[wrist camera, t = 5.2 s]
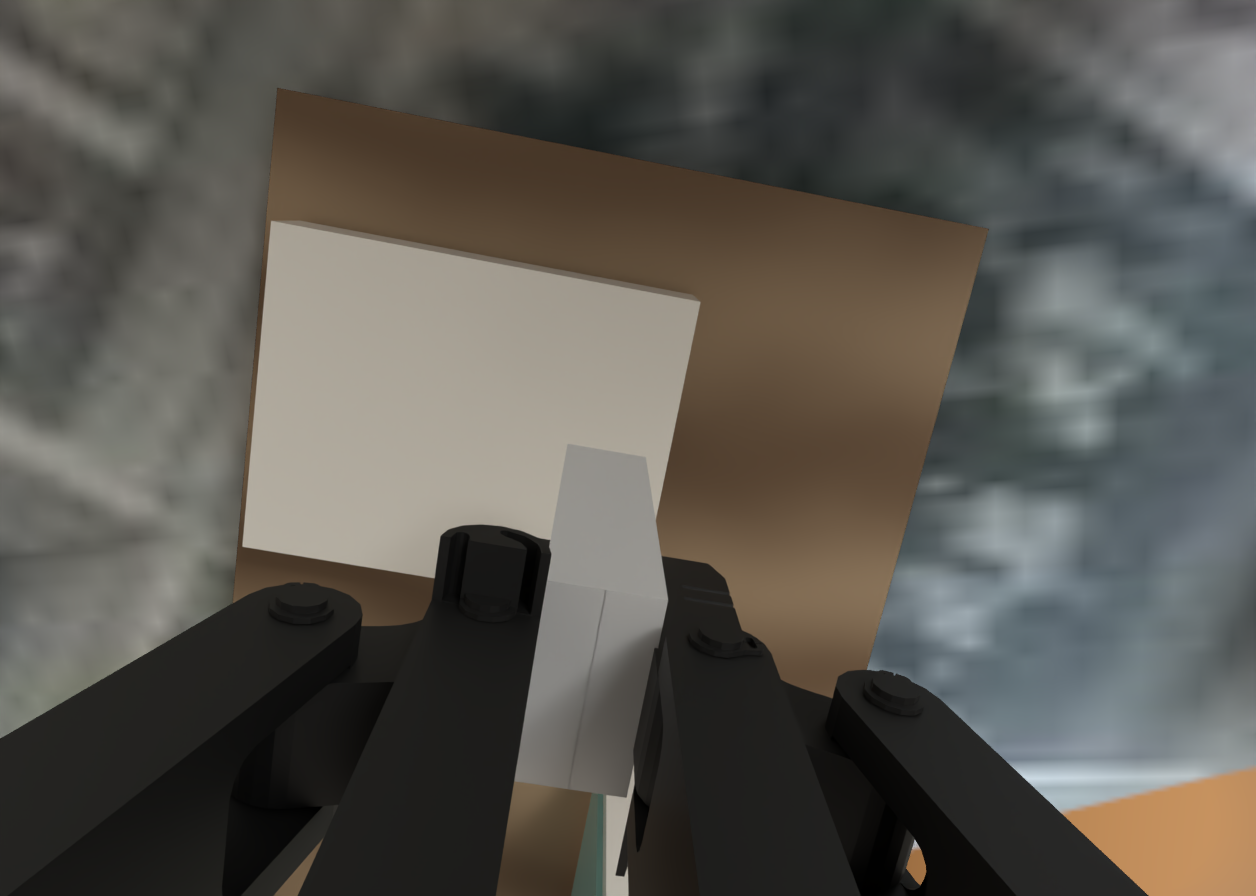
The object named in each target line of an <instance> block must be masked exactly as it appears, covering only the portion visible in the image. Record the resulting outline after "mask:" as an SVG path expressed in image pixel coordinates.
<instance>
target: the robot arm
mask: <svg viewBox="0 0 1256 896" xmlns="http://www.w3.org/2000/svg"><path fill="white" fill-rule="evenodd" d="M733 606H734V604H733V601H732V598H731V596H730V592H729V589H728V586H727V582H726V579H725V578H724V577H723V576H722V575H721V574H720V573H719V572H717V571H716V570H715V569H714V568H713V567H712V566H711V565H709V564H708V563H702V562H696V561H690V560H684V559H678V558H672V557H666V556H661V551H660V545H659V538H658V532H657V526H656V519H655V513H654V506H653V500H652V494H651V487H650V481H649V475H648V468H647V462H646V457H642V456H636V455H631V454H625V453H619V452H613V451H607V450H602V449H596V448H590V447H584V446H578V445H573V444H567V449H566V455H565V461H564V466H563V472H562V478H561V483H560V489H559V494H558V500H557V506H556V511H555V517H554V523H553V528H552V534H551V539H550V540H547V539H541V538H538V537H535V536H533V535H531V534H528V533H526V532H523V531H520V530H516V529H512V528H507V527H503V526H494V525H483V524H479V525H462V526H459V527H455V528H451V529H448V530H447V531H446V532H445V533H443V534H442V535H441V536H440V543H439V550H438V557H437V564H436V571H435V578H434V585H433V592H432V600H431V602H430V604H429V607H428V609H427V611H426V613H425V615H424V618H423V620H420V621H417V622H413V623H408V624H403V625H392V626H361V625H362V616H363V613H362V609H361V604H360V603H358V602H357V601H356V600H355V599H354V598H353V597H351V596H350V595H348V594H346V593H343V592H341V591H338V590H335V589H333V588H328V587H322V586H319V585H318V584H315V583H306V582H303V584H300V582H290V583H286V584H285V585H279V586H272V587H266V588H263V589H261V590H258V591H256V592H253V593H250V594H248V595H246V596H245V597H243V598H241V599H239V600H238V601H236V602H234V603H233V604H231V605H229V606H227V607H226V608H224V609H222V610H221V611H219V612H217V613H215V614H214V615H212V616H210V617H209V618H207V619H205V620H203V621H202V622H200V623H198V624H196V625H195V626H193V627H191V628H190V629H188V630H186V631H184V632H183V633H181V634H179V635H178V636H176V637H174V638H172V639H171V640H169V641H167V642H166V643H164V644H162V645H160V646H159V647H157V648H155V649H154V650H152V651H150V652H148V653H147V654H145V655H143V656H142V657H140V658H138V659H136V660H135V661H133V662H131V663H130V664H128V665H126V666H124V667H123V668H121V669H119V670H117V671H116V672H114V673H112V674H111V675H109V676H107V677H105V678H104V679H102V680H100V681H99V682H97V683H95V684H93V685H92V686H90V687H88V688H87V689H85V690H83V691H81V692H80V693H78V694H76V695H75V696H73V697H71V698H69V699H68V700H66V701H64V702H63V703H61V704H59V705H57V706H56V707H54V708H52V709H51V710H49V711H47V712H45V713H44V714H42V715H40V716H39V717H37V718H35V719H33V720H32V721H30V722H28V723H26V724H25V725H23V726H21V727H20V728H18V729H16V730H14V731H13V732H11V733H9V734H8V735H6V736H4V737H2V738H1V739H0V896H274V895H275V893H276V892H277V891H278V890H279V889H280V888H281V886H282V885H283V884H284V883H285V882H286V881H287V880H288V878H289V877H290V876H291V875H292V874H293V873H294V871H295V870H296V869H297V868H298V867H299V866H300V865H301V863H302V862H303V861H304V860H305V859H306V858H307V856H308V855H309V854H310V853H311V852H312V851H313V850H314V848H315V847H316V846H317V845H318V844H319V843H320V841H321V840H322V839H323V841H322V843H321V845H320V847H319V849H318V852H317V854H316V856H315V858H314V860H313V863H312V865H311V867H310V869H309V872H308V874H307V876H306V878H305V880H304V883H303V885H302V887H301V889H300V891H299V894H298V896H496V892H497V885H498V879H499V873H500V867H501V861H502V854H503V848H504V842H505V836H506V829H507V823H508V817H509V811H510V805H511V798H512V792H513V786H514V781H516V782H523V783H529V784H536V785H543V786H550V787H557V788H563V789H570V790H577V791H584V792H591V793H597V794H604V795H611V796H618V797H625V798H627V794H628V789H629V784H630V780H631V775H632V770H633V765H634V781H635V784H634V789H633V794H632V799H631V803H630V808H629V813H628V817H627V822H626V827H625V832H624V836H623V841H622V846H621V851H620V855H619V860H618V865H617V870H616V874H615V876H622V877H624V876H625V873H626V870H627V867H628V893H629V896H1148V895H1147V894H1146V893H1145V892H1144V891H1143V890H1142V889H1141V888H1140V887H1139V886H1138V885H1137V884H1135V883H1134V882H1133V881H1132V880H1131V879H1130V878H1129V877H1128V876H1127V875H1126V874H1125V873H1124V872H1123V871H1122V870H1121V869H1120V868H1119V867H1117V866H1116V865H1115V864H1114V863H1113V862H1112V861H1111V860H1110V859H1109V858H1108V857H1107V856H1106V855H1105V854H1104V853H1103V852H1102V851H1101V850H1099V849H1098V848H1097V847H1096V846H1095V845H1094V844H1093V843H1092V842H1091V841H1090V840H1089V839H1088V838H1087V837H1085V835H1084V834H1083V833H1081V832H1080V831H1079V830H1078V829H1077V828H1076V827H1075V826H1074V825H1073V824H1072V823H1071V822H1070V821H1069V820H1067V818H1066V817H1064V816H1063V815H1062V814H1061V813H1060V812H1059V811H1058V810H1057V809H1056V808H1055V807H1054V806H1053V805H1052V804H1051V803H1050V802H1049V801H1047V800H1046V799H1045V798H1044V797H1043V796H1042V795H1041V794H1040V793H1039V792H1038V791H1037V790H1036V789H1035V788H1034V787H1033V786H1032V785H1031V784H1029V783H1028V782H1027V781H1026V780H1025V779H1024V778H1023V777H1022V776H1021V775H1020V774H1019V773H1018V772H1017V771H1016V770H1015V769H1014V768H1012V767H1011V766H1010V765H1009V764H1008V763H1007V762H1006V761H1005V760H1004V759H1003V758H1002V757H1001V756H1000V755H999V754H998V753H997V752H996V751H994V750H993V749H992V748H991V747H990V746H989V745H988V744H987V743H986V742H985V741H984V740H983V739H982V738H981V737H980V736H979V735H977V734H976V733H975V732H974V731H973V730H972V729H971V728H970V727H969V726H968V725H967V724H966V723H965V722H964V721H963V720H962V719H961V718H959V717H958V716H957V715H956V714H955V713H954V712H953V711H952V710H951V709H950V708H949V707H948V706H947V705H946V704H945V703H944V702H942V701H941V700H940V699H939V698H937V697H936V696H935V695H933V694H932V693H931V692H929V691H928V690H927V689H925V688H923V687H921V686H919V685H917V684H915V683H913V682H911V681H910V679H908V678H907V677H904V676H901V675H898V674H896V676H894V675H893V673H892V672H888V671H883V670H880V671H871V670H853V671H847V672H845V673H843V674H842V675H840V676H838V679H837V682H836V686H835V690H834V694H833V697H832V698H830V697H827V696H824V695H821V694H818V693H814V692H811V691H808V690H805V689H802V688H800V687H797V686H794V685H792V684H789V683H787V682H785V681H783V680H781V678H780V675H779V673H778V670H777V667H776V665H775V662H774V659H773V656H772V654H771V652H770V651H769V649H768V648H767V647H766V645H765V644H764V643H763V642H761V641H760V640H759V639H758V638H756V637H754V636H753V635H751V634H749V633H747V632H745V631H742V629H741V626H740V623H739V620H738V616H737V613H736V610H735V608H733ZM914 840H916V842H917V844H918V845H919V847H920V849H921V851H922V854H923V857H924V860H925V864H926V875H925V878H924V880H923V882H922V884H921V886H920V885H919V884H918V883H917V882H916V881H915V880H914V878H913V877H912V876H911V874H910V873H909V872H908V870H907V869H906V866H907V862H908V860H909V856H910V853H911V850H912V846H913V843H914Z"/></svg>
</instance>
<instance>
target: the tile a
mask: <svg viewBox="0 0 1256 896" xmlns="http://www.w3.org/2000/svg"><path fill="white" fill-rule="evenodd" d="M699 307H700V301H699V300H698V299H697V298H696V297H695V296H694V295H692V294H686V293H681V292H676V291H671V290H665V289H660V288H655V287H649V286H644V285H639V284H634V283H628V282H623V281H618V280H612V279H607V278H602V277H597V276H591V275H586V274H581V273H575V272H570V271H565V270H559V269H554V268H549V267H544V266H538V265H533V264H528V263H522V262H517V261H512V260H507V259H501V258H496V257H491V256H485V255H480V254H475V253H470V252H464V251H459V250H454V249H448V248H443V247H438V246H433V245H427V244H422V243H417V242H411V241H406V240H401V239H395V238H390V237H385V236H380V235H374V234H369V233H364V232H358V231H353V230H348V229H343V228H337V227H332V226H327V225H321V224H316V223H311V222H306V221H300V220H298V221H271V227H270V239H269V250H268V261H267V273H266V284H265V295H264V307H263V318H262V329H261V341H260V352H259V363H258V375H257V386H256V397H255V409H254V420H253V431H252V442H251V454H250V465H249V476H248V488H247V499H246V510H245V522H244V533H243V544H242V547H247V548H253V549H259V550H265V551H271V552H277V553H284V554H290V555H296V556H302V557H308V558H314V559H320V560H326V561H332V562H338V563H344V564H350V565H356V566H363V567H369V568H375V569H381V570H387V571H393V572H399V573H405V574H411V575H417V576H423V577H429V578H435V571H436V564H437V557H438V550H439V543H440V536H441V535H442V534H443V533H445V532H446V531H447V530H448V529H451V528H455V527H459V526H462V525H479V524H483V525H494V526H503V527H507V528H512V529H516V530H520V531H523V532H526V533H528V534H531V535H533V536H535V537H538V538H541V539H547V540H550V539H551V534H552V528H553V523H554V517H555V511H556V506H557V500H558V494H559V489H560V483H561V478H562V472H563V466H564V461H565V455H566V449H567V444H573V445H578V446H584V447H590V448H596V449H602V450H607V451H613V452H619V453H625V454H631V455H636V456H642V457H646V462H647V468H648V475H649V481H650V487H651V494H652V500H653V506H654V513H655V519H656V516H657V512H658V507H659V502H660V497H661V492H662V487H663V482H664V478H665V473H666V468H667V463H668V458H669V453H670V448H671V443H672V439H673V434H674V429H675V424H676V419H677V414H678V409H679V405H680V400H681V395H682V390H683V385H684V380H685V375H686V371H687V366H688V361H689V356H690V351H691V346H692V341H693V336H694V332H695V327H696V322H697V317H698V312H699Z"/></svg>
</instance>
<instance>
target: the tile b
mask: <svg viewBox="0 0 1256 896" xmlns="http://www.w3.org/2000/svg"><path fill="white" fill-rule="evenodd" d="M634 784H635V781H634V765H633V770H632V775H631V780H630V784H629V789H628V794H627V798H625V797H618V796H611V795H604V794H597V793H592V794H591V799H590V804H589V809H588V814H587V819H586V824H585V829H584V834H583V839H582V844H581V849H580V854H579V858H578V863H577V868H576V873H575V878H574V883H573V888H572V893H571V896H629V893H628V867H627V870H626V873H625V876H624V877H622V876H615V874H616V870H617V865H618V860H619V855H620V851H621V846H622V841H623V836H624V832H625V827H626V822H627V817H628V813H629V808H630V803H631V799H632V794H633V789H634Z"/></svg>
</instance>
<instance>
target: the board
mask: <svg viewBox="0 0 1256 896" xmlns="http://www.w3.org/2000/svg"><path fill="white" fill-rule="evenodd" d="M298 220H300V221H306V222H311V223H316V224H321V225H327V226H332V227H337V228H343V229H348V230H353V231H358V232H364V233H369V234H374V235H380V236H385V237H390V238H395V239H401V240H406V241H411V242H417V243H422V244H427V245H433V246H438V247H443V248H448V249H454V250H459V251H464V252H470V253H475V254H480V255H485V256H491V257H496V258H501V259H507V260H512V261H517V262H522V263H528V264H533V265H538V266H544V267H549V268H554V269H559V270H565V271H570V272H575V273H581V274H586V275H591V276H597V277H602V278H607V279H612V280H618V281H623V282H628V283H634V284H639V285H644V286H649V287H655V288H660V289H665V290H671V291H676V292H681V293H686V294H692V295H694V296H695V297H696V298H697V299H698V300H699V301H700V307H699V312H698V317H697V322H696V327H695V332H694V336H693V341H692V346H691V351H690V356H689V361H688V366H687V371H686V375H685V380H684V385H683V390H682V395H681V400H680V405H679V409H678V414H677V419H676V424H675V429H674V434H673V439H672V443H671V448H670V453H669V458H668V463H667V468H666V473H665V478H664V482H663V487H662V492H661V497H660V502H659V507H658V512H657V516H656V526H657V532H658V538H659V545H660V551H661V556H666V557H672V558H678V559H684V560H690V561H696V562H702V563H708V564H709V565H711V566H712V567H713V568H714V569H715V570H716V571H717V572H719V573H720V574H721V575H722V576H723V577H724V578H725V579H726V582H727V586H728V589H729V592H730V596H731V598H732V601H733V604H734V606H733V608H735V610H736V613H737V616H738V620H739V623H740V626H741V629H742V631H745V632H747V633H749V634H751V635H753V636H754V637H756V638H758V639H759V640H760V641H761V642H763V643H764V644H765V645H766V647H767V648H768V649H769V651H770V652H771V654H772V656H773V659H774V662H775V665H776V667H777V670H778V673H779V675H780V678H781V680H783V681H785V682H787V683H789V684H792V685H794V686H797V687H800V688H802V689H805V690H808V691H811V692H814V693H818V694H821V695H824V696H827V697H830V698H832V697H833V694H834V690H835V686H836V682H837V679H838V676H840V675H842V674H843V673H845V672H847V671H853V670H867V666H868V662H869V659H870V655H871V652H872V648H873V644H874V641H875V637H876V634H877V630H878V626H879V623H880V619H881V616H882V612H883V608H884V605H885V601H886V598H887V594H888V590H889V587H890V583H891V580H892V576H893V572H894V569H895V565H896V562H897V558H898V554H899V551H900V547H901V544H902V540H903V536H904V533H905V529H906V525H907V522H908V518H909V515H910V511H911V507H912V504H913V500H914V497H915V493H916V489H917V486H918V482H919V479H920V475H921V471H922V468H923V464H924V461H925V457H926V453H927V450H928V446H929V443H930V439H931V435H932V432H933V428H934V425H935V421H936V417H937V414H938V410H939V407H940V403H941V399H942V396H943V392H944V389H945V385H946V381H947V378H948V374H949V371H950V367H951V363H952V360H953V356H954V353H955V349H956V345H957V342H958V338H959V334H960V331H961V327H962V324H963V320H964V316H965V313H966V309H967V306H968V302H969V298H970V295H971V291H972V288H973V284H974V280H975V277H976V273H977V270H978V266H979V262H980V259H981V255H982V252H983V248H984V244H985V241H986V237H987V234H988V230H989V229H987V228H982V227H977V226H972V225H967V224H962V223H956V222H951V221H946V220H941V219H936V218H931V217H926V216H921V215H916V214H911V213H906V212H901V211H896V210H891V209H886V208H881V207H876V206H871V205H866V204H861V203H856V202H851V201H846V200H841V199H835V198H830V197H825V196H820V195H815V194H810V193H805V192H800V191H795V190H790V189H785V188H780V187H775V186H770V185H765V184H760V183H755V182H750V181H745V180H740V179H735V178H730V177H725V176H720V175H714V174H709V173H704V172H699V171H694V170H689V169H684V168H679V167H674V166H669V165H664V164H659V163H654V162H649V161H644V160H639V159H634V158H629V157H624V156H619V155H614V154H609V153H604V152H599V151H593V150H588V149H583V148H578V147H573V146H568V145H563V144H558V143H553V142H548V141H543V140H538V139H533V138H528V137H523V136H518V135H513V134H508V133H503V132H498V131H493V130H488V129H483V128H478V127H472V126H467V125H462V124H457V123H452V122H447V121H442V120H437V119H432V118H427V117H422V116H417V115H412V114H407V113H402V112H397V111H392V110H387V109H382V108H377V107H372V106H367V105H362V104H357V103H351V102H346V101H341V100H336V99H331V98H326V97H321V96H316V95H311V94H306V93H301V92H296V91H291V90H286V89H281V88H277V99H276V110H275V122H274V133H273V145H272V156H271V168H270V179H269V191H268V202H267V214H266V225H265V237H264V248H263V260H262V271H261V283H260V294H259V306H258V317H257V329H256V340H255V352H254V363H253V375H252V386H251V398H250V409H249V421H248V432H247V444H246V455H245V467H244V478H243V490H242V501H241V513H240V524H239V536H238V547H237V559H236V570H235V582H234V593H233V603H234V602H236V601H238V600H239V599H241V598H243V597H245V596H246V595H248V594H250V593H253V592H256V591H258V590H261V589H263V588H266V587H272V586H279V585H285V584H286V583H290V582H300V584H303V582H306V583H315V584H318V585H319V586H322V587H328V588H333V589H335V590H338V591H341V592H343V593H346V594H348V595H350V596H351V597H353V598H354V599H355V600H356V601H357V602H358V603H360V604H361V609H362V613H363V616H362V625H361V626H392V625H403V624H408V623H413V622H417V621H420V620H423V618H424V615H425V613H426V611H427V609H428V607H429V604H430V602H431V600H432V592H433V585H434V578H429V577H423V576H417V575H411V574H405V573H399V572H393V571H387V570H381V569H375V568H369V567H363V566H356V565H350V564H344V563H338V562H332V561H326V560H320V559H314V558H308V557H302V556H296V555H290V554H284V553H277V552H271V551H265V550H259V549H253V548H247V547H242V544H243V533H244V522H245V510H246V499H247V488H248V476H249V465H250V454H251V442H252V431H253V420H254V409H255V397H256V386H257V375H258V363H259V352H260V341H261V329H262V318H263V307H264V295H265V284H266V273H267V261H268V250H269V239H270V227H271V221H298ZM591 794H592V793H591V792H584V791H577V790H570V789H563V788H557V787H550V786H543V785H536V784H529V783H523V782H516V781H514V786H513V792H512V798H511V805H510V811H509V817H508V823H507V829H506V836H505V842H504V848H503V854H502V861H501V867H500V873H499V879H498V885H497V892H496V896H571V893H572V888H573V883H574V878H575V873H576V868H577V863H578V858H579V854H580V849H581V844H582V839H583V834H584V829H585V824H586V819H587V814H588V809H589V804H590V799H591ZM322 841H323V839H322V840H321V841H320V843H319V844H318V845H317V846H316V847H315V848H314V850H313V851H312V852H311V853H310V854H309V855H308V856H307V858H306V859H305V860H304V861H303V862H302V863H301V865H300V866H299V867H298V868H297V869H296V870H295V871H294V873H293V874H292V875H291V876H290V877H289V878H288V880H287V881H286V882H285V883H284V884H283V885H282V886H281V888H280V889H279V890H278V891H277V892H276V893H275V895H274V896H298V894H299V891H300V889H301V887H302V885H303V883H304V880H305V878H306V876H307V874H308V872H309V869H310V867H311V865H312V863H313V860H314V858H315V856H316V854H317V852H318V849H319V847H320V845H321V843H322Z"/></svg>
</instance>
